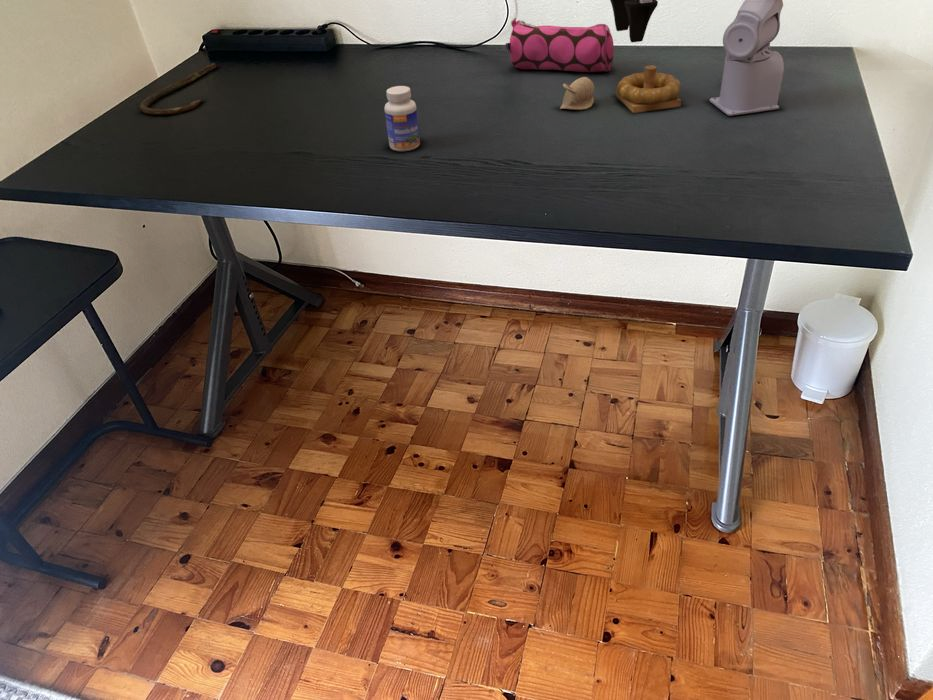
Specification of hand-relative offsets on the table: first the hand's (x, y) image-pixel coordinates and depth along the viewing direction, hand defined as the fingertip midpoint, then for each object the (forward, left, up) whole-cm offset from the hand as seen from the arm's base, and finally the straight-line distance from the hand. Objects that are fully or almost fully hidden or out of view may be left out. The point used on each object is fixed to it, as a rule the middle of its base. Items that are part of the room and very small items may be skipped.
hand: (629, 35), depth 136 cm
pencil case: (+9, -14, -10) cm, 19 cm away
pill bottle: (+45, +14, -10) cm, 48 cm away
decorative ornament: (+12, +7, -10) cm, 17 cm away
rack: (-1, +9, -9) cm, 13 cm away
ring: (-1, +9, -7) cm, 11 cm away
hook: (+86, -31, -10) cm, 92 cm away
